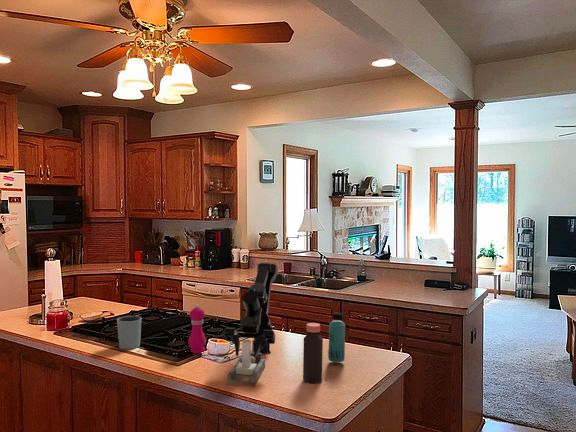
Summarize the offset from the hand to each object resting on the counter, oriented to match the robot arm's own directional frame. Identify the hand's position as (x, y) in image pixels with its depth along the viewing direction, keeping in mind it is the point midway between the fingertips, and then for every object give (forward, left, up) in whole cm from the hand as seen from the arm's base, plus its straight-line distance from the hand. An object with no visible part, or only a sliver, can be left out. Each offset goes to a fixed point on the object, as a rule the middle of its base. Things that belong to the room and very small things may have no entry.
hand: (245, 356), depth 172 cm
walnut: (-4, -8, -6) cm, 10 cm away
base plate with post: (-1, -2, -8) cm, 8 cm away
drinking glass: (+41, -48, -8) cm, 63 cm away
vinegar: (-22, +8, -8) cm, 25 cm away
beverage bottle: (-37, -6, -8) cm, 39 cm away
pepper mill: (+14, -33, -8) cm, 36 cm away
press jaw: (-1, -1, -6) cm, 6 cm away
